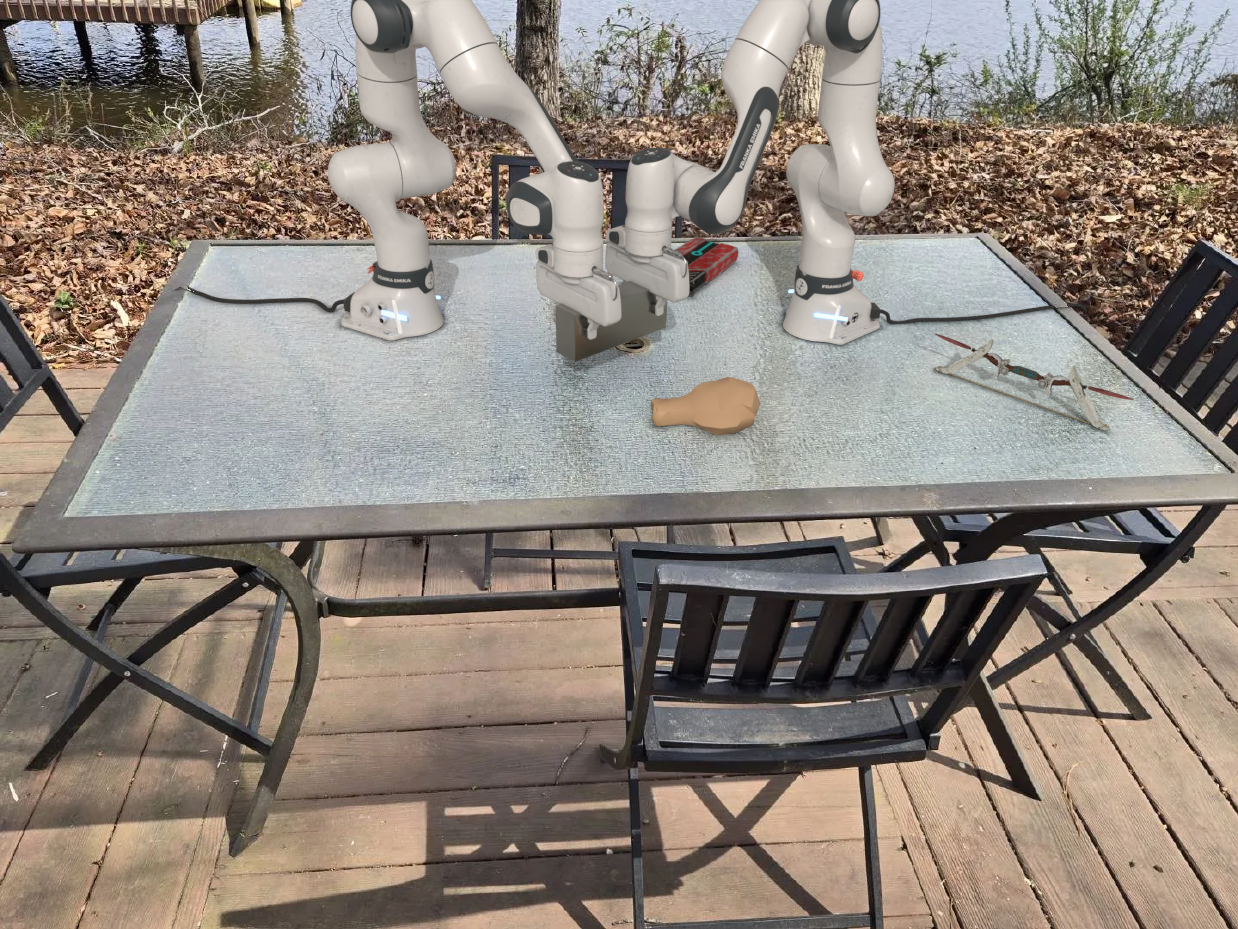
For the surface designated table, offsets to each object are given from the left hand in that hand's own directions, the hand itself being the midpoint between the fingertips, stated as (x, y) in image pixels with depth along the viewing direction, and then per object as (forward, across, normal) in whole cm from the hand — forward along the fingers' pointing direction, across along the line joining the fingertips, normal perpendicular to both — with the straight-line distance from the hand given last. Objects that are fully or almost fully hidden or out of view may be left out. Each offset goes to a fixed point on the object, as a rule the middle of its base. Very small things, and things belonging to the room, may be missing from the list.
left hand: (578, 331), depth 162 cm
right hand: (0, 0, -17) cm, 17 cm away
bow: (+14, -56, -67) cm, 88 cm away
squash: (+14, -23, -11) cm, 29 cm away
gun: (+14, +33, -62) cm, 71 cm away
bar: (+4, 0, -9) cm, 10 cm away
